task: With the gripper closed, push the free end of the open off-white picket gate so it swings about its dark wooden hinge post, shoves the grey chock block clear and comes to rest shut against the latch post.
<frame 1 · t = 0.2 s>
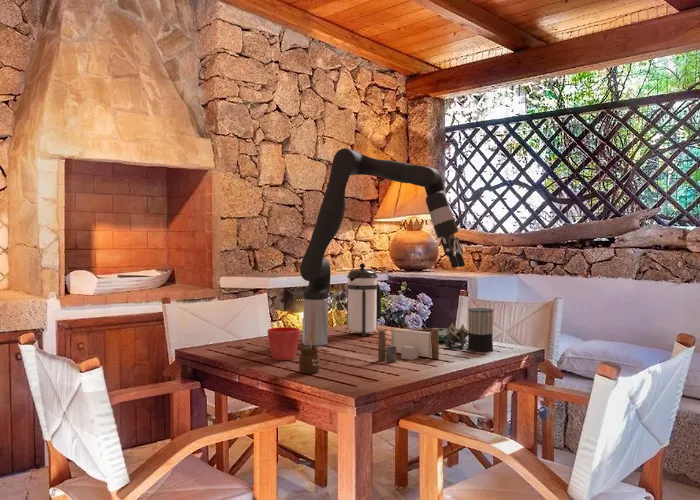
hand: (459, 267, 205), 31 cm above the table, tool tilted 20°, fingers open, 8 cm apart
flower pot: (283, 358, 203), on the table
milk frother: (469, 349, 221), on the table
chock block: (409, 358, 204), on the table
jar with wooden spoon: (309, 372, 182), on the table
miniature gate: (431, 340, 244), on the table
coffee press: (363, 334, 257), on the table
gate posts: (435, 358, 203), on the table
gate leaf: (410, 342, 209), point 4 cm above the table, hinge at 50.0°
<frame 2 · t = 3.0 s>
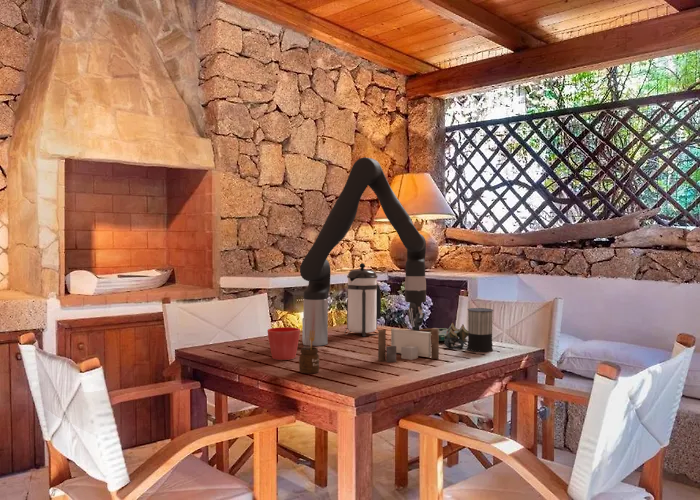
hand: (415, 337, 217), 5 cm above the table, tool pointing down, fingers closed
nothing on the table moved.
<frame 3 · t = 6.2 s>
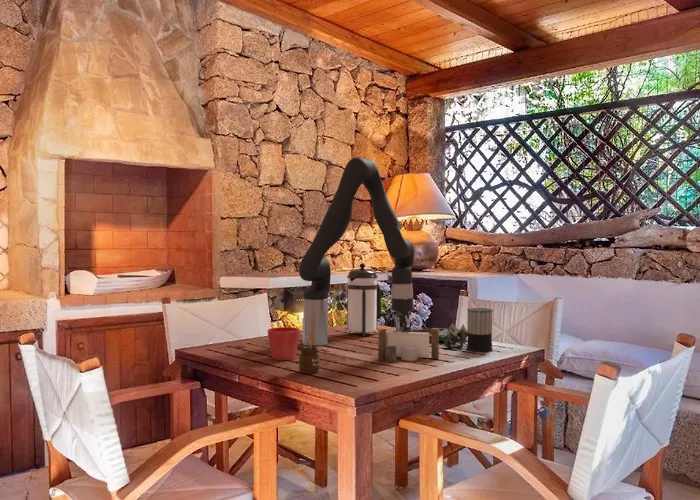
hand: (402, 346, 210), 3 cm above the table, tool pointing down, fingers closed
chock block: (409, 359, 202), on the table, touching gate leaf
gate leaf: (406, 344, 205), point 4 cm above the table, hinge at 23.2°, touching chock block, hand
everything else where it was.
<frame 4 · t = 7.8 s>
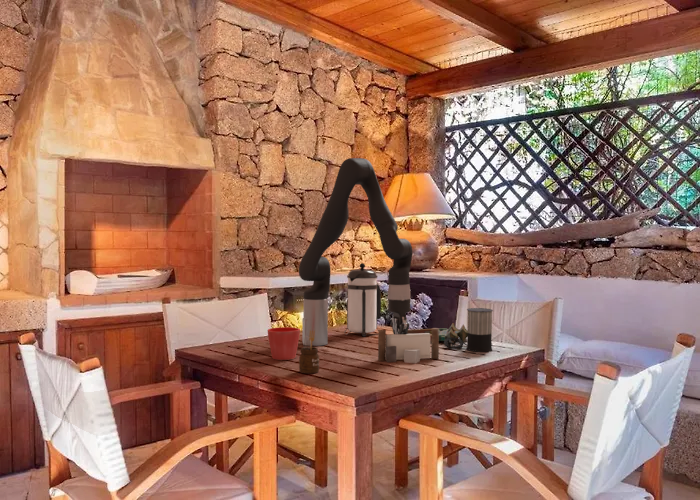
hand: (400, 348, 205), 3 cm above the table, tool pointing down, fingers closed
chock block: (412, 361, 198), on the table
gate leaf: (408, 346, 201), point 4 cm above the table, hinge at -0.5°, touching hand
everything else where it was.
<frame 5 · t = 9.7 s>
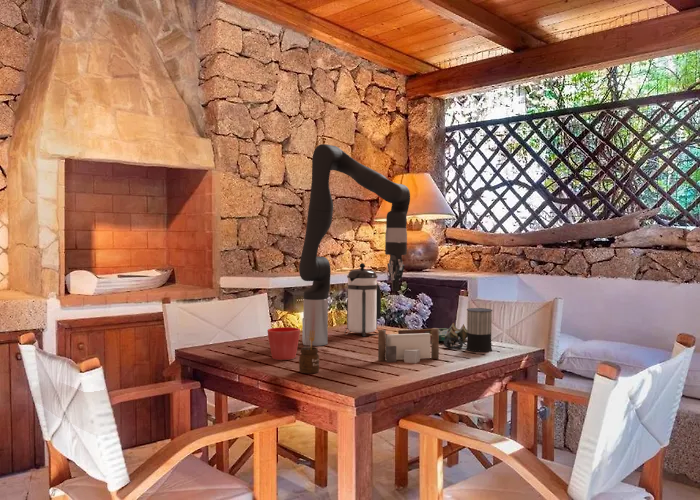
hand: (395, 290, 211), 22 cm above the table, tool pointing down, fingers closed
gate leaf: (408, 346, 201), point 4 cm above the table, hinge at -0.4°
everything else where it was.
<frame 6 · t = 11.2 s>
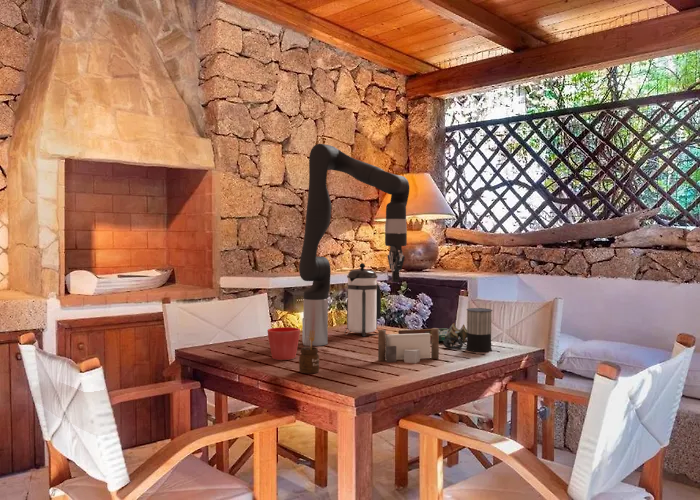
hand: (395, 282, 211), 25 cm above the table, tool pointing down, fingers closed
nothing on the table moved.
at the end: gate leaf at +0° (first picture: +50°); chock block moved 6.0 cm from its start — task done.
